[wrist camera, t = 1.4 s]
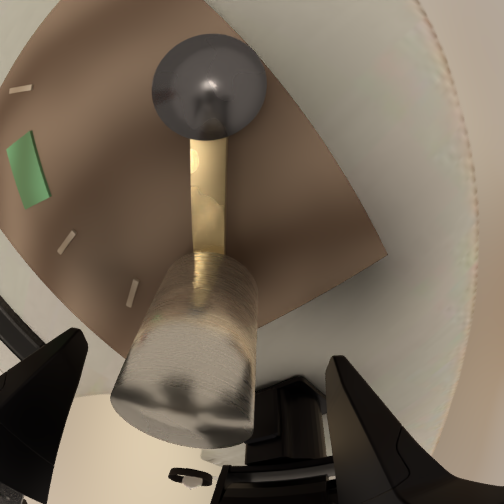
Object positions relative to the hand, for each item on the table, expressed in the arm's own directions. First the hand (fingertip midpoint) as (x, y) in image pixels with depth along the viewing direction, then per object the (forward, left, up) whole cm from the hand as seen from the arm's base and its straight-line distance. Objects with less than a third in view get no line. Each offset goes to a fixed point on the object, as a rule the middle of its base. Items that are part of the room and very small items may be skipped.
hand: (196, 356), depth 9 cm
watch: (-29, +33, -7) cm, 44 cm away
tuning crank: (+2, -2, -5) cm, 5 cm away
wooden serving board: (+6, +1, -6) cm, 9 cm away
